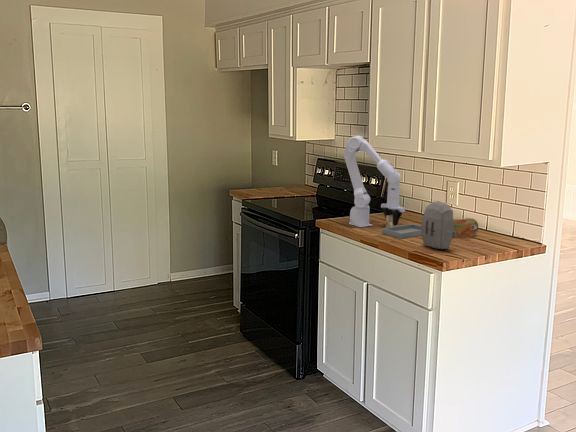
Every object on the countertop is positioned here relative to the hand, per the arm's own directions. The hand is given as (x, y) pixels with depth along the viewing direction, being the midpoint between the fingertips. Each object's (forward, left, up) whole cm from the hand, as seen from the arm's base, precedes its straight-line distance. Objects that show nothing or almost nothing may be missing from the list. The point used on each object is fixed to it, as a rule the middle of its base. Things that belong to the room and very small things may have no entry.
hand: (392, 224), depth 277 cm
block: (0, 0, -2) cm, 2 cm away
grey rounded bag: (+38, -12, -2) cm, 40 cm away
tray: (+13, -3, -2) cm, 13 cm away
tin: (+30, +15, -2) cm, 34 cm away
